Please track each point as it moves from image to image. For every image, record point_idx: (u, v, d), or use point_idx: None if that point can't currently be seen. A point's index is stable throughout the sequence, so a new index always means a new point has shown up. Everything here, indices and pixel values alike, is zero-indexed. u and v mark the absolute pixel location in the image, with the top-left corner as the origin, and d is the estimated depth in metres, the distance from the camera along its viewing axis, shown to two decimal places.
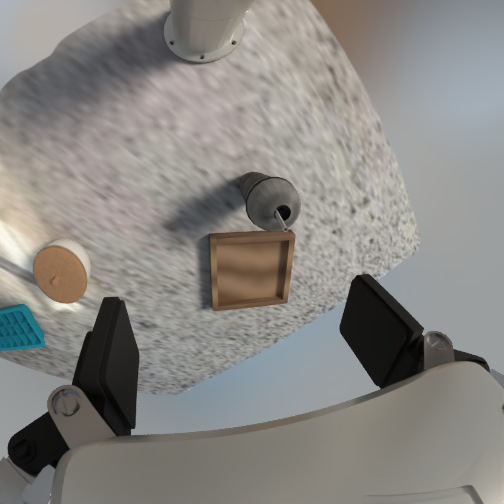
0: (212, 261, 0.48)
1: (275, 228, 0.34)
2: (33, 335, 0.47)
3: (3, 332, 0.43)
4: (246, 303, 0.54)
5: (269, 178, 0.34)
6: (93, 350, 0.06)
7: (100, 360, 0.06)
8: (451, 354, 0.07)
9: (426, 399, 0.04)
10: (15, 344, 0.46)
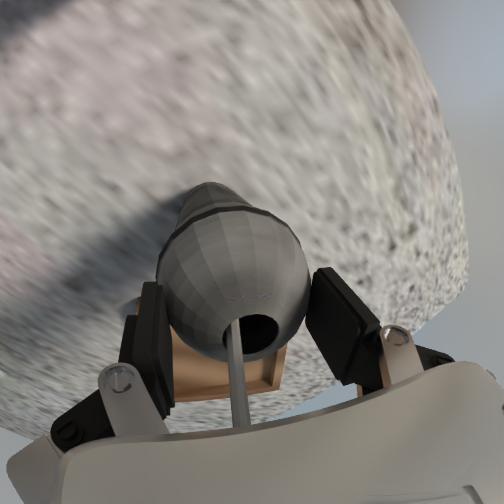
0: None
1: None
2: None
3: None
4: (213, 394, 0.31)
5: (216, 212, 0.11)
6: (142, 328, 0.07)
7: (150, 337, 0.07)
8: (412, 347, 0.07)
9: (426, 399, 0.04)
10: None
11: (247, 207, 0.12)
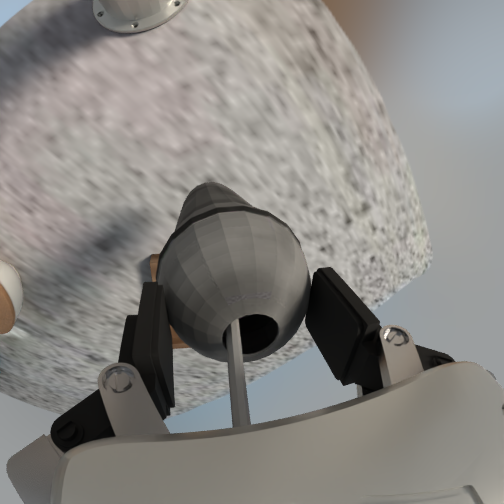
0: None
1: None
2: None
3: None
4: None
5: (216, 212, 0.11)
6: (142, 328, 0.07)
7: (151, 337, 0.07)
8: (412, 347, 0.07)
9: (426, 399, 0.04)
10: None
11: (247, 207, 0.12)
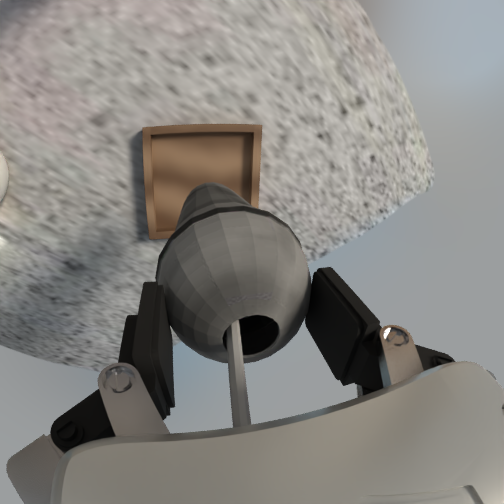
0: (145, 159, 0.31)
1: None
2: None
3: None
4: None
5: (216, 212, 0.11)
6: (142, 329, 0.07)
7: (151, 337, 0.07)
8: (412, 347, 0.07)
9: (426, 399, 0.04)
10: None
11: (247, 207, 0.12)
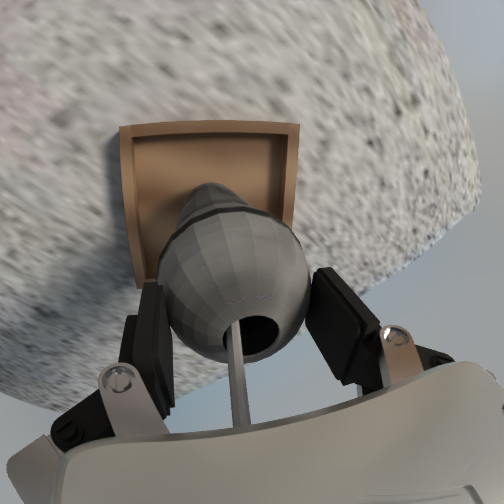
0: (124, 175, 0.20)
1: None
2: None
3: None
4: None
5: (216, 213, 0.11)
6: (142, 328, 0.07)
7: (151, 337, 0.07)
8: (412, 347, 0.07)
9: (426, 399, 0.04)
10: None
11: (247, 208, 0.12)
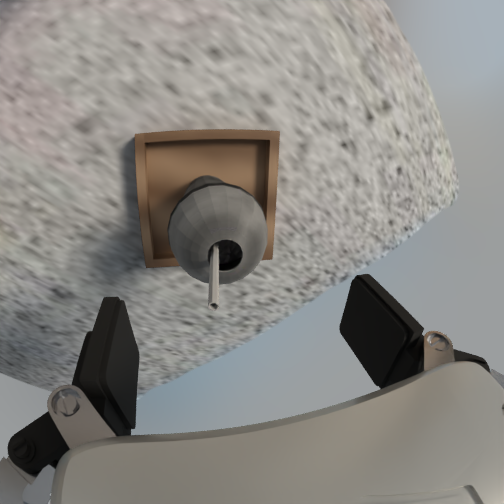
0: (138, 173, 0.26)
1: None
2: None
3: None
4: None
5: (207, 186, 0.18)
6: (93, 350, 0.06)
7: (99, 360, 0.06)
8: (451, 354, 0.07)
9: (426, 399, 0.04)
10: None
11: (226, 183, 0.18)
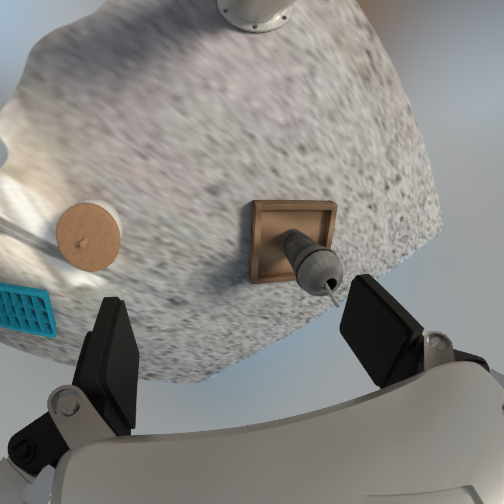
0: (256, 228, 0.46)
1: (322, 295, 0.38)
2: (43, 323, 0.46)
3: (7, 309, 0.41)
4: (285, 276, 0.52)
5: (318, 250, 0.38)
6: (93, 350, 0.06)
7: (100, 360, 0.06)
8: (451, 354, 0.07)
9: (426, 399, 0.04)
10: (15, 323, 0.44)
11: (326, 249, 0.39)
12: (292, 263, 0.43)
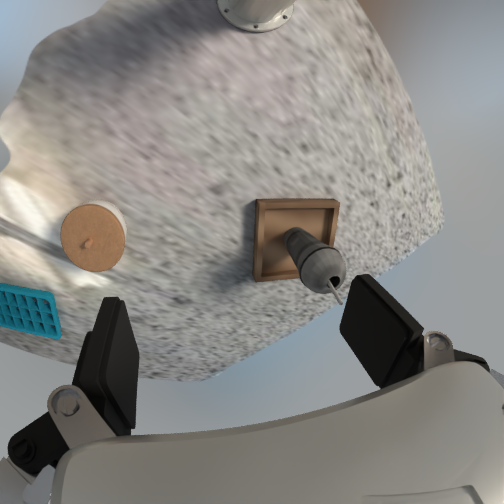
0: (260, 226, 0.46)
1: (325, 293, 0.39)
2: (47, 324, 0.47)
3: (12, 310, 0.42)
4: (289, 274, 0.52)
5: (321, 248, 0.39)
6: (93, 350, 0.06)
7: (100, 360, 0.06)
8: (451, 354, 0.07)
9: (426, 399, 0.04)
10: (19, 324, 0.44)
11: (329, 247, 0.39)
12: (295, 261, 0.43)
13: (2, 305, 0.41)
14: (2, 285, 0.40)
